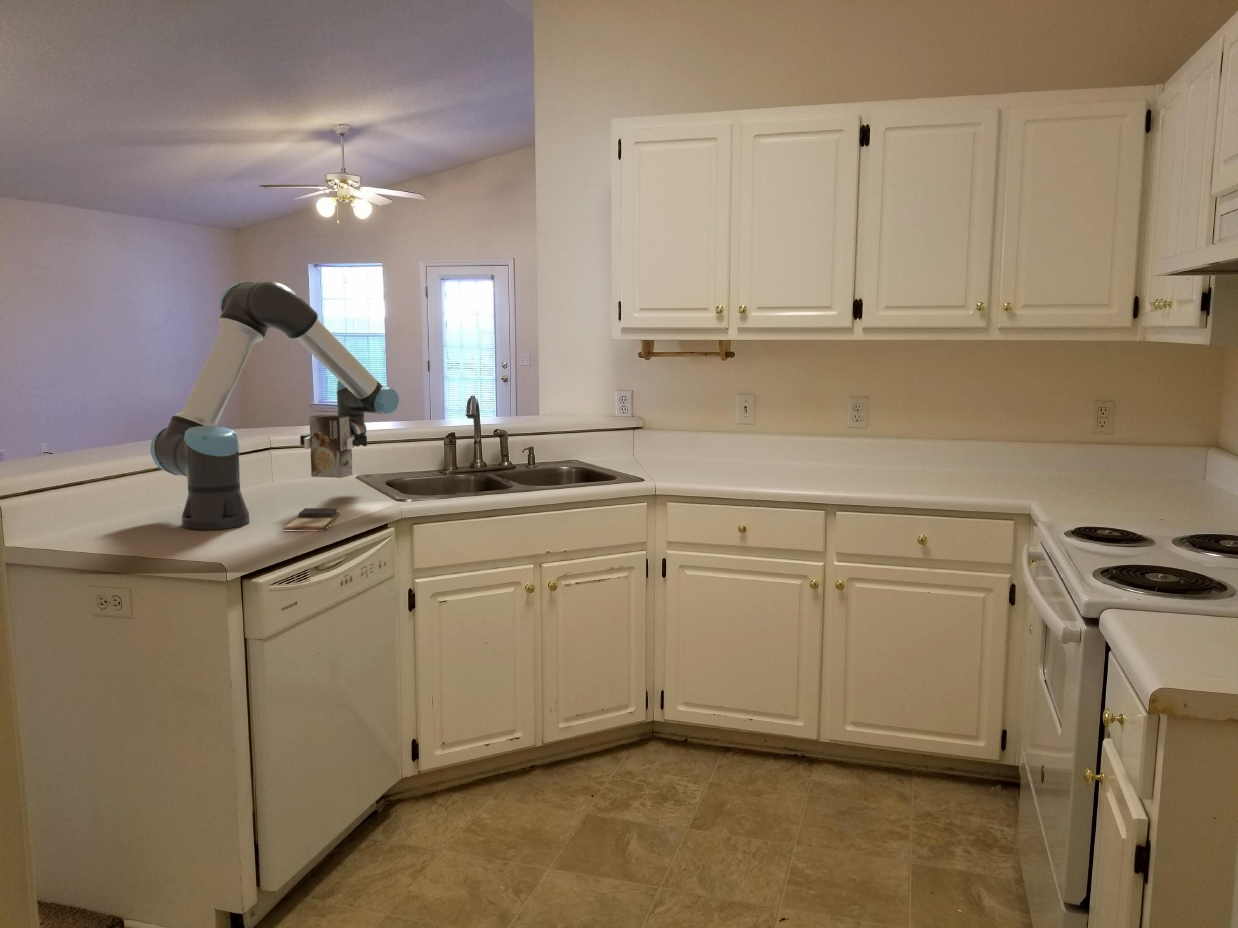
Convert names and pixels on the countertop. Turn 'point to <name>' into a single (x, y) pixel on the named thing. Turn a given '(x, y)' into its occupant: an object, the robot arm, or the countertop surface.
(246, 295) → the robot arm
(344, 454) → the grey cardboard box
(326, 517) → the stamp station
